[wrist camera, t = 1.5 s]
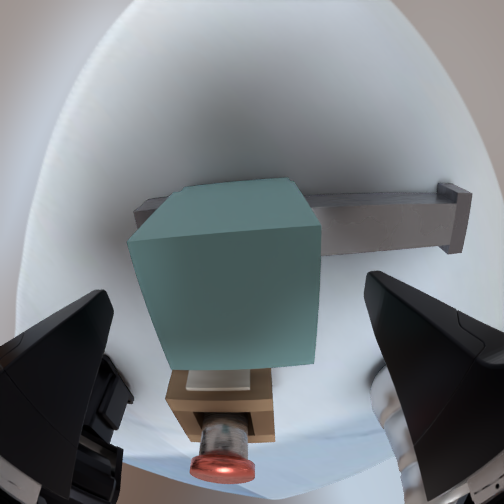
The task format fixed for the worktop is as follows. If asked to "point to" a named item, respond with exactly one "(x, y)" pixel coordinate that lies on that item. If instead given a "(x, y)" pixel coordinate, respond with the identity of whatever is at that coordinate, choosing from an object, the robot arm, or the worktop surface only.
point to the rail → (380, 220)
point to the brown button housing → (223, 399)
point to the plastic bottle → (403, 442)
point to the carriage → (232, 275)
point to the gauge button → (224, 449)
